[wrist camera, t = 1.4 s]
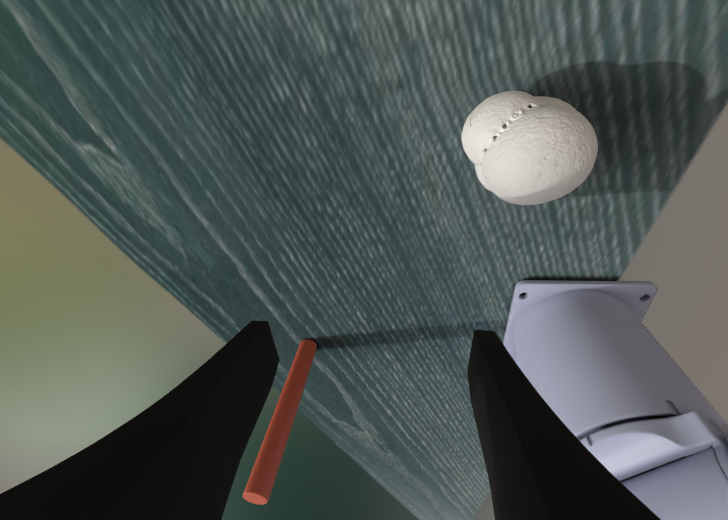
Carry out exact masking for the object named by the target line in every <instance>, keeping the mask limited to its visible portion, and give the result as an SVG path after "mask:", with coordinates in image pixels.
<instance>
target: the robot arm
mask: <svg viewBox="0 0 728 520" xmlns="http://www.w3.org/2000/svg"><path fill="white" fill-rule="evenodd" d="M656 292H657V287H656V286H655V285H654V284H653V283H652V282H647V281H645V282H644V281H554V280H523V281H520V282H518V283H517V284H516V286H515V290H514V295H513V299H512V304H511V309H510V313H509V318H508V322H507V327H506V331H505V336H504V340H503V343H502V341H501V340H500V338H499V337H498V335H497V334H496V333H495V332H494V331H486V330H474V335H473V341H472V347H471V353H470V359H469V365H468V380H469V389H470V397H471V403H472V408H473V412H474V416H475V421H476V425H477V429H478V434H479V438H480V442H481V447H482V451H483V455H484V460H485V464H486V468H487V472H488V478H489V483H490V488H491V494H492V501H493V508H494V515H495V520H728V423H727V422H726V421H725V420H724V419H723V417H722V416H721V415H720V414H719V413H718V412H717V410H716V409H715V408H714V407H713V406H712V405H711V403H710V402H709V401H708V400H707V399H706V398H705V396H704V395H703V394H702V393H701V392H700V391H699V389H698V388H697V387H696V386H695V385H694V383H693V382H692V381H691V380H690V379H689V378H688V377H687V375H686V374H685V373H684V372H683V371H682V369H681V368H680V367H679V366H678V365H677V364H676V362H674V360H673V359H672V358H671V357H670V355H669V354H668V353H667V352H666V351H665V350H664V348H663V347H662V346H661V345H660V344H659V343H658V341H657V340H656V339H655V338H654V337H653V336H652V334H651V333H650V332H649V331H648V330H647V329H646V328H645V326H644V325H643V324H642V323H641V321H642V319H643V317H644V315H645V313H646V311H647V309H648V307H649V305H650V303H651V302H652V300H653V298H654V296H655V294H656ZM522 293H526V294H524V295H520V294H522ZM643 295H645V296H643ZM641 296H643V297H641ZM278 363H279V357H278V354H277V350H276V347H275V344H274V340H273V337H272V333H271V330H270V327H269V323H268V321H251V322H250V323H249V324H248V325H247V326H246V327H244V328H243V329H242V330H241V331H240V332H239V333H238V334H237V335H236V336H235V337H234V338H232V339H231V340H230V341H229V342H228V343H227V344H226V345H225V346H224V347H223V348H221V349H220V350H219V351H218V352H217V353H216V354H215V355H214V356H213V357H211V359H209V360H208V361H207V362H206V363H205V364H203V365H202V366H201V367H200V368H199V369H198V370H196V371H195V372H194V373H193V374H191V375H190V376H189V377H188V378H186V379H185V380H184V381H183V382H182V383H181V384H179V385H178V386H177V387H176V388H174V389H173V390H172V391H170V392H169V393H168V394H167V395H165V396H164V397H163V398H161V399H160V400H158V401H157V402H156V403H154V404H153V405H151V406H150V407H149V408H148V409H146V410H145V411H143V412H142V413H140V414H139V415H137V416H136V417H134V418H133V419H131V420H130V421H128V422H127V423H125V424H123V425H122V426H120V427H119V428H117V429H116V430H114V431H113V432H111V433H110V434H108V435H106V436H105V437H103V438H102V439H100V440H98V441H97V442H96V443H94V444H92V445H90V446H89V447H87V448H85V449H83V450H82V451H80V452H78V453H77V454H75V455H73V456H71V457H70V458H68V459H66V460H64V461H62V462H61V463H59V464H57V465H55V466H53V467H52V468H50V469H48V470H46V471H44V472H42V473H40V474H38V475H37V476H35V477H33V478H31V479H29V480H27V481H25V482H23V483H21V484H19V485H17V486H15V487H13V488H11V489H9V490H7V491H5V492H3V493H1V494H0V520H221V519H222V516H223V512H224V509H225V506H226V502H227V499H228V496H229V493H230V490H231V487H232V484H233V481H234V478H235V475H236V472H237V468H238V466H239V463H240V460H241V458H242V455H243V452H244V450H245V447H246V445H247V443H248V441H249V438H250V436H251V433H252V431H253V429H254V427H255V424H256V422H257V420H258V417H259V415H260V413H261V411H262V408H263V406H264V404H265V401H266V399H267V397H268V394H269V392H270V389H271V387H272V384H273V380H274V377H275V374H276V370H277V367H278Z"/></svg>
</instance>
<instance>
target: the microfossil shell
mask: <svg viewBox="0 0 728 520" xmlns="http://www.w3.org/2000/svg"><path fill="white" fill-rule="evenodd" d="M475 102H476V101H475ZM462 145H463V149H464V151H465V152H466V154H467V156H468V157H469V159H470V160H471V161H472V162H473V163H474V164H475V170H476V174H477V176H478V179H479V180H480V182H481V183H482V184H483V186H484V187H485V188H486V189H488V190H490V191H492V192H493V193H494V194H495V195H497V196H498V197H499V198H500V199H502V200H504V201H507V202H510V203H512V204H518V205H535V204H541V203H544V202H548V201H552V200H555V199H557V198H560V197H562V196H564V195H566V194H568V193H570V192H571V191H573V190H574V189H575V188H577V187H578V186H579V185H580V184H582V182H584V181H585V180H586V178H587V176H588V175H589V174H590V172H591V171H592V169H593V166H594V163H595V160H596V156H597V152H598V142H597V137H596V134H595V131H594V129H593V127H592V125H591V124H590V122H589V121H588V120H587V119H586V118H585V117H584V116H583V115H582V114H581V113H579V112H578V111H576V109H575V108H574V107H572V106H571V105H570V104H568V103H566V102H564V101H562V100H560V99H557V98H552V97H546V96H536V97H534V96H532V95H530V94H528V93H526V92H522V91H505V92H501V93H498V94H495V95H493V96H491V97H488V98H487V99H485V100H484V101H483V102H481V103H480V104H479V105H478V106H477V107H476V108H475V109H474V110H473V111H472V113H471V114H470V115H468V118H467V120H466V122H465V125H464V127H463V131H462Z"/></svg>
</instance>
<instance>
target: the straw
mask: <svg viewBox="0 0 728 520" xmlns="http://www.w3.org/2000/svg"><path fill="white" fill-rule="evenodd" d="M316 349H317V345H316V343H315V342H314V341H312V340H309V339H305V340H302V341H301V343H300V345H299V348H298V351H297V353H296V356H295V359H294V361H293V364H292V366H291V369H290V372H289V374H288V377H287V380H286V382H285V385H284V388H283V390H282V393H281V396H280V398H279V401H278V403H277V406H276V409H275V411H274V414H273V417H272V419H271V422H270V425H269V427H268V430H267V432H266V435H265V438H264V441H263V443H262V446H261V449H260V451H259V454H258V456H257V459H256V462H255V464H254V467H253V470H252V472H251V475H250V478H249V480H248V483H247V486H246V488H245V491H244V493H243V497H244V499H245V500H247V501H248V502H251V503H254V504H260V505H261V504H266V503H267V502H268V500H269V497H270V494H271V490H272V487H273V484H274V481H275V478H276V475H277V472H278V468H279V465H280V462H281V459H282V456H283V453H284V449H285V446H286V443H287V440H288V437H289V434H290V430H291V427H292V424H293V420H294V418H295V414H296V412H297V408H298V405H299V402H300V399H301V396H302V393H303V390H304V386H305V383H306V380H307V377H308V374H309V371H310V367H311V364H312V361H313V358H314V355H315V352H316Z"/></svg>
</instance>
